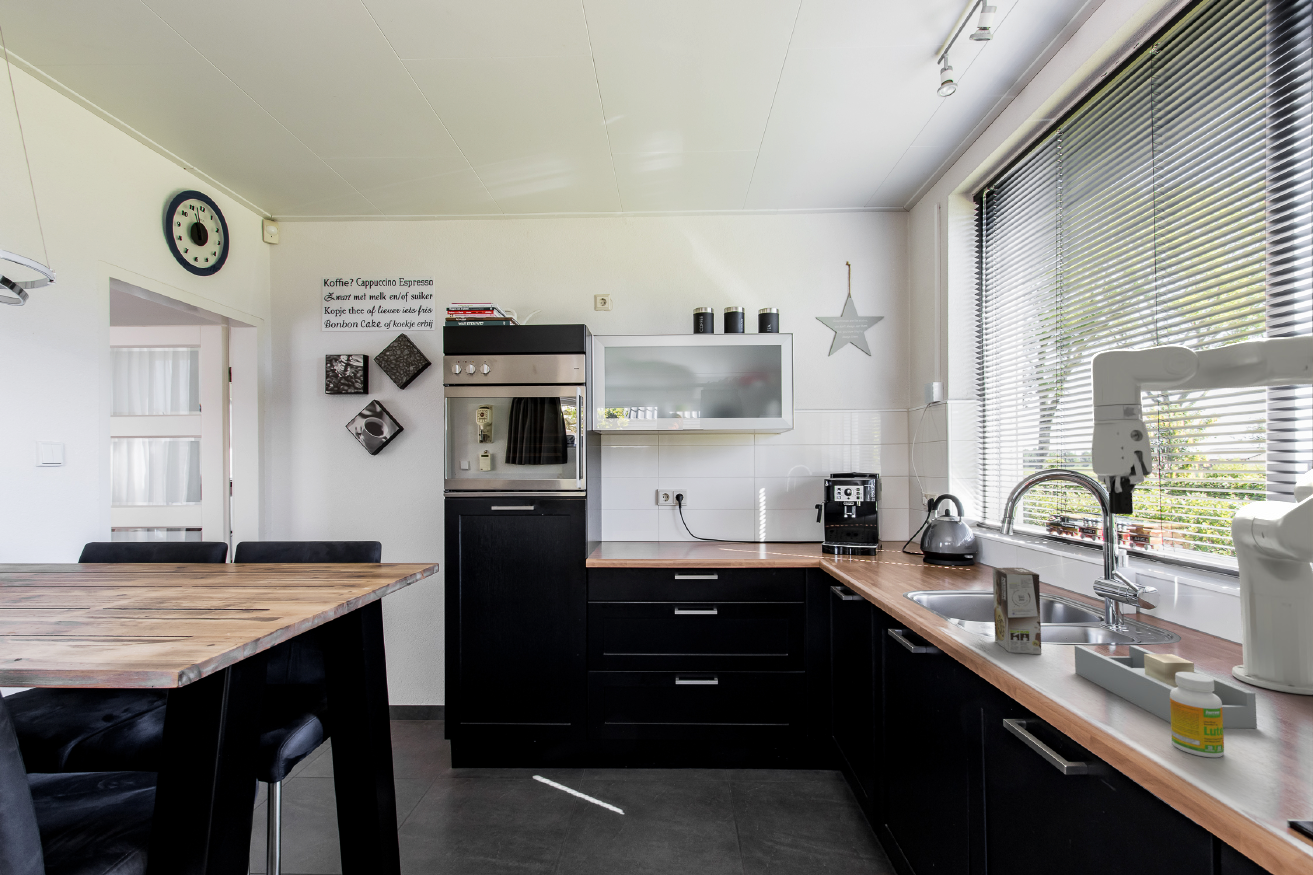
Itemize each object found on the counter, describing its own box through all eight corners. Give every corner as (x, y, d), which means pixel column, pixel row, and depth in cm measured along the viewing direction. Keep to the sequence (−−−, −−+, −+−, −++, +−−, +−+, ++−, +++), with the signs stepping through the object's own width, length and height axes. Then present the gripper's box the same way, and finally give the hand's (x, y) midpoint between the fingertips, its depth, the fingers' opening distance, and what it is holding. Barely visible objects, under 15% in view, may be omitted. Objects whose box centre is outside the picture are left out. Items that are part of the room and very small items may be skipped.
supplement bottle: (1210, 761, 81) (1207, 685, 82) (1162, 744, 86) (1160, 672, 86) (1233, 753, 83) (1229, 679, 84) (1185, 737, 88) (1182, 667, 89)
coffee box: (1043, 654, 126) (1040, 574, 127) (1008, 653, 128) (1006, 573, 128) (1026, 642, 135) (1023, 566, 136) (993, 640, 137) (991, 566, 137)
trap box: (1136, 672, 115) (1135, 645, 115) (1257, 727, 91) (1255, 693, 91) (1075, 672, 116) (1074, 645, 116) (1179, 727, 92) (1177, 692, 92)
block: (1173, 681, 102) (1171, 654, 102) (1195, 691, 98) (1193, 662, 98) (1145, 681, 102) (1144, 654, 102) (1165, 691, 98) (1164, 662, 98)
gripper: (1168, 412, 111) (1173, 517, 110) (1110, 418, 126) (1114, 510, 125) (1125, 413, 111) (1129, 517, 110) (1072, 419, 126) (1075, 510, 125)
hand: (1121, 513), depth 117 cm, fingers closed
